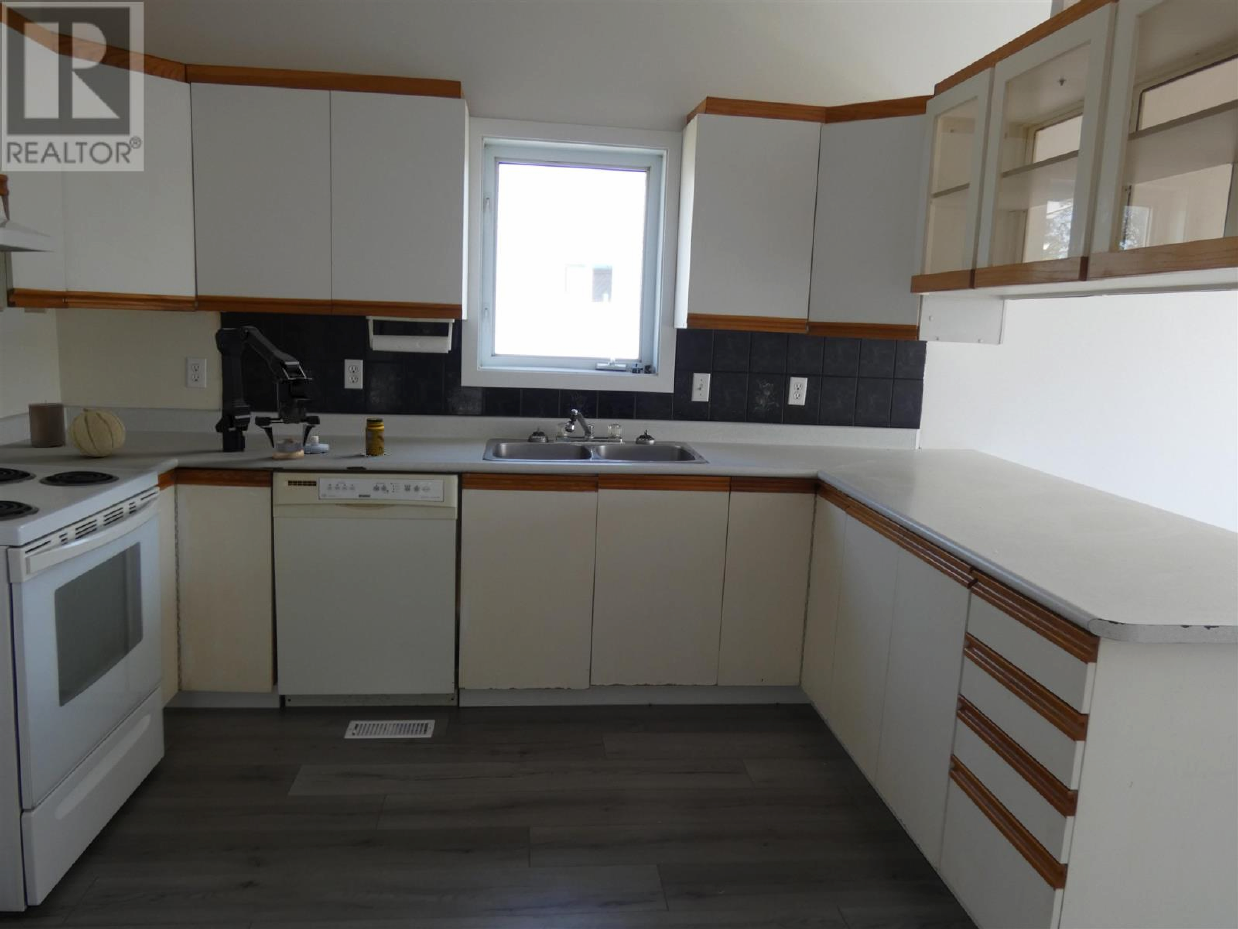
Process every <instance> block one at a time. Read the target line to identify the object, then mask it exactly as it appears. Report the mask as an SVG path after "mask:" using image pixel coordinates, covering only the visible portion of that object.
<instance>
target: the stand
mask: <svg viewBox="0 0 1238 929" xmlns="http://www.w3.org/2000/svg"><path fill="white" fill-rule="evenodd" d="M292 440H293V438H292V437H291V438H290V437H285V438H284V439H283V441H284V443H292ZM304 455H305V453H304V451H303V450H301V452H296V453H279V452H277V451H276V449H275V450H273V459H274V460H283V461H284V460H285V461H286V460H287V461H288V460H301V459H303V458H302V457H305V456H304Z"/></svg>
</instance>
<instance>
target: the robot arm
mask: <svg viewBox="0 0 1238 929" xmlns="http://www.w3.org/2000/svg"><path fill="white" fill-rule="evenodd" d="M214 340H215V344H216V348H217V350H218V352H219V354H221V356H222V361H223V363H222V364H223V376H224V387H225V389H224V390H225V403H224V405H223V407H222V408H221V418H220V419H219V420H218V422H217V423H216V424H215V426H214V428H215V431H216V433H218V434H220V436H221V439H220V440H221V447H220V450H221V451H222V452H224V453H227V452H245V451H246V450H245V449H246V436H245V435H244V432H247V431H248V429H249V426H250V425H249V424H250V423H251V418H252V413H251V409H252V408H251V405H249V404H248V405H247V404H246V403H245V401H244V397H243V396H244V395H243V384H242V371H241V358H240V356H241V354H242V353H243V350H244V349H245V342H247V343H248V345H250V346H251V347H252V348H253V349H254V350H255V351H256V352H258V354H260V355H261V356H262V357H263V358H264V359H265V360H266V361H267V363H268V367H269V369H270V370H271V371H272V372H273V374H274V375H275V378H274V379H272V380H271V384H276V395H277V396H276V397H277V417H271V416H270V415H268V414H267V415H265V414H264V415H256V416H254V417H255V418H254V425H255V426H257V427H259V428H260V429H263V430H264V432H265V434H266V436H267V438H268V441H269V443H270V445H271V448H272V449H274V448H275V440H274V434H273V426H271V424H285V425H289V424H290V425H293V424H296V425H298V424H301V423H303V424H302V437H301V443H302V444H301V445H303V447H304V446H305V444H307V440H308V437H309V434H310V432H311V430H313V428H316V427H317V425H321V417H320V416H318V414H316V413H312V414H309V413H307V408H306V407H299V406H298V400H303V401H314V400H316V399H317V398H318V395H319V388H318V386H317V384H316V383H315V382H314V378H311V377H308V378H307V377H306V374H305V373H304V371H303V369H302V367H301V366H300V362H299V360H298V359H296V358H295V357H293V356H292V355H290V354H288V353H285V352H282V351H281V350H280V349H278V348H277V347H276V346H275V345H274V344H273V343H271V341H269V340H268V339H267V338H266V337H265V336H264V335H263V334H262V333H260V331H259V329H258V328H256V327H255V326H242V327H238V328H227V327H226V328H224V327H223V328H219V329H218V330H217V331H216V332H215V335H214Z"/></svg>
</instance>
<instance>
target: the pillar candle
mask: <svg viewBox="0 0 1238 929" xmlns="http://www.w3.org/2000/svg"><path fill="white" fill-rule="evenodd" d="M27 405H28V417H29V420H28V421H29V433H30V434H29V435H30V445H31V447H33V448H51V447H50V446H57V447H61V446H60V445H64V446H66V445H67V438H66V437H67V436H66V424H65V423H66V422H65V409H64V408H65V406H64V403H62V402H47V399H45V402H37V403H36V402H35V403H28V404H27Z"/></svg>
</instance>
